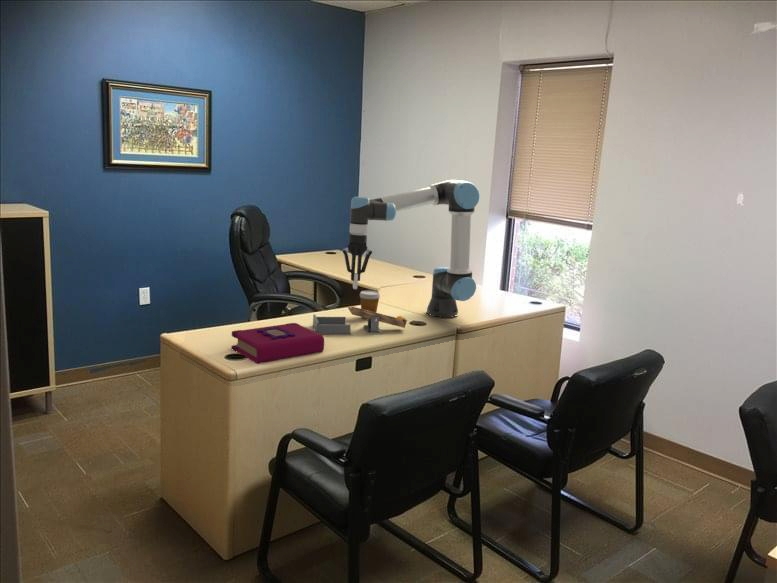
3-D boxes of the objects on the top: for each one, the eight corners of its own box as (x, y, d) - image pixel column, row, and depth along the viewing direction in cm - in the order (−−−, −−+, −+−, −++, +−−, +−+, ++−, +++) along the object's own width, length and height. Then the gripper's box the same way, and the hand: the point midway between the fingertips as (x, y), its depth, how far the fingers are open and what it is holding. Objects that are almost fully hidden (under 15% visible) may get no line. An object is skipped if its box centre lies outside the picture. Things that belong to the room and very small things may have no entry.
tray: (345, 325, 282) (345, 314, 281) (350, 334, 270) (350, 322, 268) (312, 325, 279) (313, 314, 278) (316, 334, 266) (316, 322, 265)
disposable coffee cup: (379, 316, 302) (381, 291, 300) (377, 321, 293) (379, 295, 290) (359, 314, 303) (361, 289, 300) (356, 319, 294) (358, 294, 291)
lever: (398, 321, 289) (401, 314, 289) (404, 327, 279) (407, 320, 278) (347, 308, 283) (350, 300, 282) (352, 314, 272) (354, 306, 272)
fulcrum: (376, 326, 284) (377, 311, 283) (382, 333, 274) (383, 318, 273) (363, 326, 283) (364, 311, 282) (368, 333, 273) (369, 318, 271)
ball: (401, 322, 282) (403, 315, 282) (403, 324, 279) (405, 317, 279) (394, 321, 282) (396, 314, 281) (396, 323, 278) (398, 316, 278)
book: (324, 353, 244) (324, 334, 242) (257, 365, 226) (258, 344, 224) (294, 339, 259) (294, 321, 258) (229, 349, 241) (230, 329, 240)
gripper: (371, 233, 279) (368, 286, 283) (341, 232, 276) (338, 286, 280) (375, 235, 271) (371, 290, 276) (344, 234, 268) (341, 289, 273)
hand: (354, 288), depth 278 cm, fingers closed
